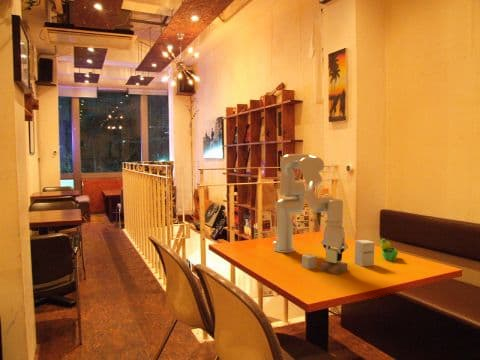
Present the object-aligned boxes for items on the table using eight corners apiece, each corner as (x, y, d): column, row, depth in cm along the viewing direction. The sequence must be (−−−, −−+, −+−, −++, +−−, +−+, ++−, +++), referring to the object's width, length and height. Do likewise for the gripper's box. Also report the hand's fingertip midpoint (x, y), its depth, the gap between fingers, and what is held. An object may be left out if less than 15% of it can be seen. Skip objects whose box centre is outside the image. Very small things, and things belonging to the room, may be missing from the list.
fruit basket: (398, 261, 208) (399, 241, 208) (381, 260, 210) (381, 240, 209) (394, 256, 220) (394, 237, 219) (378, 255, 221) (378, 236, 221)
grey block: (301, 266, 199) (301, 255, 198) (310, 265, 201) (310, 254, 201) (308, 269, 194) (308, 257, 193) (316, 268, 196) (317, 256, 196)
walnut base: (319, 271, 191) (320, 263, 191) (329, 267, 199) (329, 259, 199) (338, 275, 185) (338, 267, 185) (347, 270, 192) (347, 263, 192)
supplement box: (362, 267, 198) (362, 243, 197) (354, 263, 205) (354, 240, 204) (374, 265, 200) (375, 242, 199) (366, 262, 207) (366, 239, 206)
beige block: (326, 261, 192) (326, 249, 191) (331, 258, 195) (332, 247, 195) (335, 263, 188) (336, 251, 187) (341, 261, 192) (341, 249, 191)
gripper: (316, 222, 193) (315, 257, 195) (346, 227, 182) (345, 264, 183) (323, 220, 199) (323, 254, 200) (354, 225, 187) (353, 261, 188)
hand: (333, 258), depth 192 cm, fingers closed on beige block, 5 cm apart
